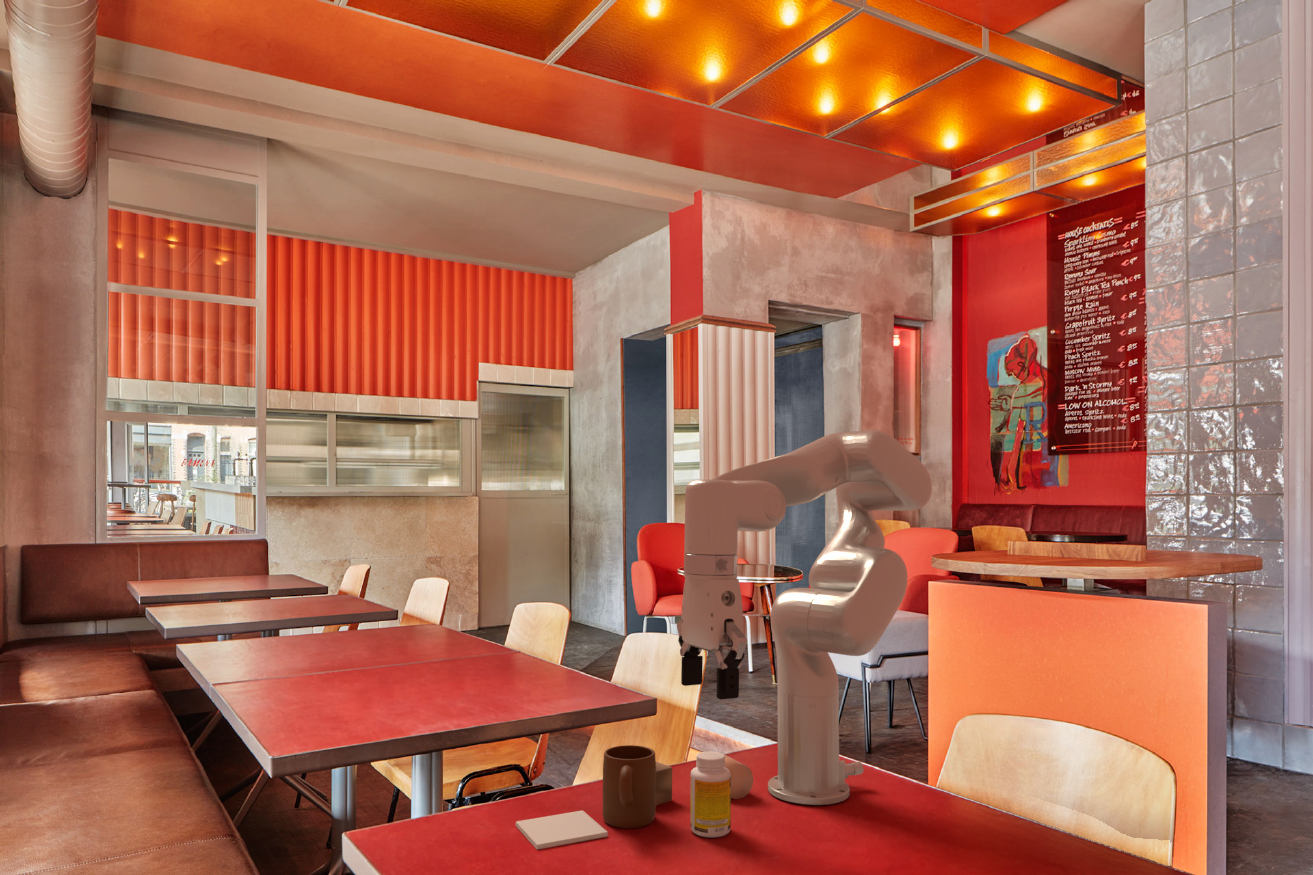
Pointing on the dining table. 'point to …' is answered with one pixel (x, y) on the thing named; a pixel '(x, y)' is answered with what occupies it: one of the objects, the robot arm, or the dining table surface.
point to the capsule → (739, 778)
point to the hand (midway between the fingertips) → (709, 691)
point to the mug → (629, 786)
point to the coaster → (560, 829)
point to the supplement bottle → (710, 796)
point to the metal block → (663, 783)
